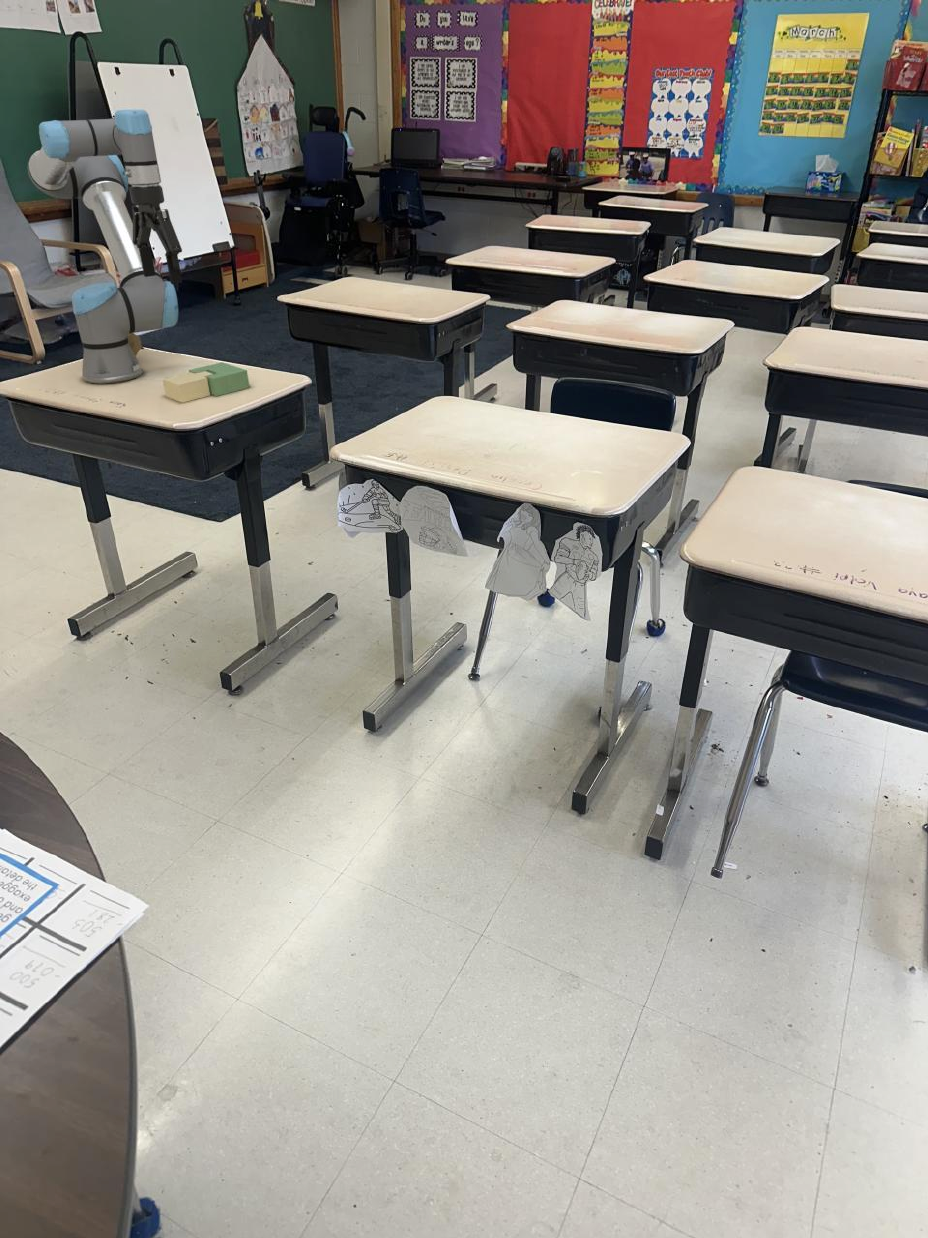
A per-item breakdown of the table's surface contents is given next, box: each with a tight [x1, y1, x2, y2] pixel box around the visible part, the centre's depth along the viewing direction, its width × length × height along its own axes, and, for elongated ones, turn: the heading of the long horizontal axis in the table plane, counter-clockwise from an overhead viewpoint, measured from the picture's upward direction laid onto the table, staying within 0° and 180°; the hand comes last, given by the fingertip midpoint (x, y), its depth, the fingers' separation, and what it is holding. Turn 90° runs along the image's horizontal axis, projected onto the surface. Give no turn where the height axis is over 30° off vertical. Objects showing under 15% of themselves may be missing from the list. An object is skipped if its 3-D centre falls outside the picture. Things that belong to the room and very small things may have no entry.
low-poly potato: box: [127, 333, 146, 357], centre depth 247 cm, size 15×11×12 cm
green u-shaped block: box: [188, 361, 250, 397], centre depth 223 cm, size 12×10×4 cm
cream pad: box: [162, 371, 213, 403], centre depth 218 cm, size 8×11×4 cm
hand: (163, 279), depth 215 cm, fingers open, 13 cm apart
